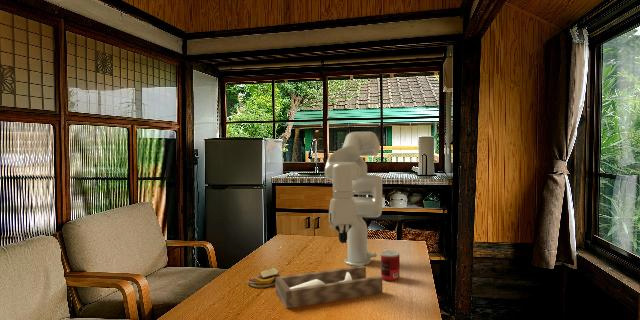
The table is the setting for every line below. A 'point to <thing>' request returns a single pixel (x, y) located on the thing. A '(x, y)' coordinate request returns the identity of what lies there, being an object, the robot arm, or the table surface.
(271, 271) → the toy sandwich meal
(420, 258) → the table surface
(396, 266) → the canned food
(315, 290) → the walnut U-rest
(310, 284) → the champagne flute
